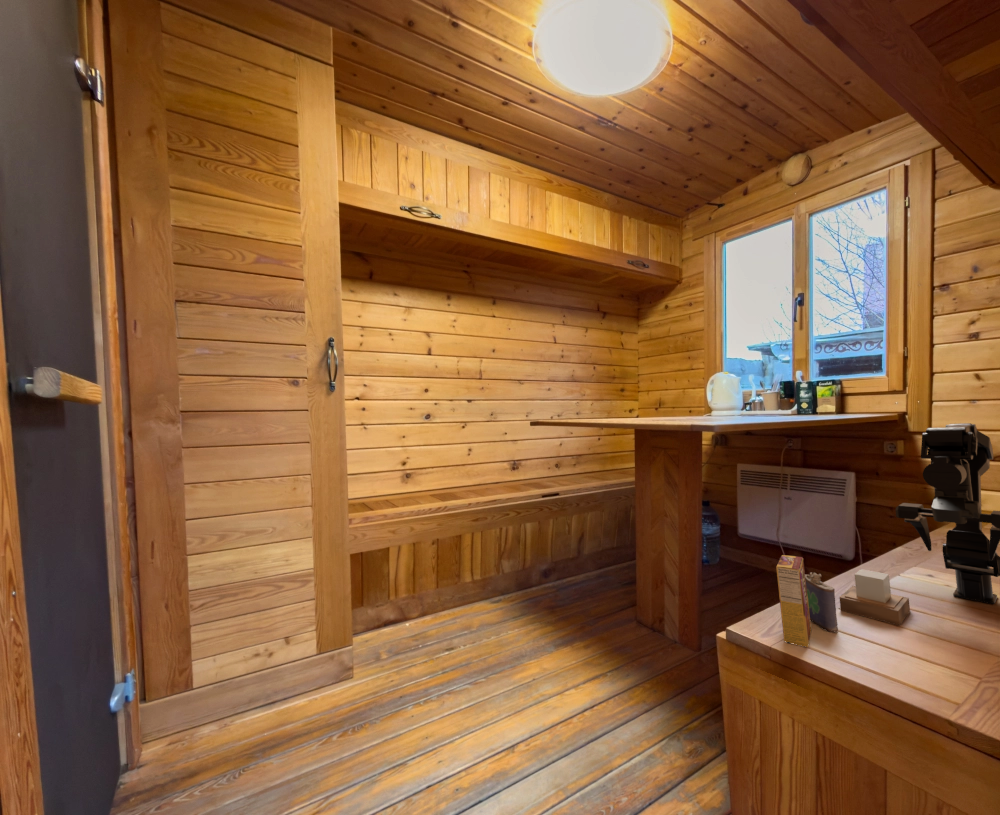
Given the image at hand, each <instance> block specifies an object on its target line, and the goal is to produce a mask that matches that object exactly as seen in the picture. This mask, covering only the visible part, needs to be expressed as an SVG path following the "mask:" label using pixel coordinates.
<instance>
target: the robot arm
mask: <svg viewBox="0 0 1000 815" xmlns="http://www.w3.org/2000/svg"><path fill="white" fill-rule="evenodd" d="M920 446H921V447H920V448H921V449H920V459H923V460H924V459H925V460H926V459H930V463H929V464H928V465H927V466H925V467H924V469H923V471H922V478H923V480H924V481H925V482H926V483H927V485H929V486H930V487H932V488H934V489H933V490H934V491H933V492H934V496H933V499H932V504H931V508H926V507H925V508H924V504H920V503H909V502H902V503H901V504H899V505H898V506H896V507H895V517H896V518H898V519H904V522H905V523H909V524H910V525H912V526H913V527H914V529H915V530H916V532H917V533H918V534H919V536H920V538H921V540H922V541H923V544H924V545H925V547H926V549H927V551H929V552H931V551H932V540H931V536H930V530H929V526H928V525H929V524H928V519H927V518H933V520H934V521H935V522H939V523H953V524H955V526H954V527H953V528H952V529H949V530H947V532H946V536H945V537H946V539H945V542H943V543H942V557H943V560H944V567H945V569H947V570H954V573H955V580H956V581H955V583H956V589H955V590H954V592H953V593H952V595H953V597H957V598H961V599H965V600H966V599H967V600H970V601H976V602H981V603H985V604H991V605H995V604H996V601H997V599H998V594H995V593H994V592H993V584H992V582H993V580H992V577H995V578H999V577H1000V555H999V554H998V553H997V549H998V546H999V545H1000V510H993V511H992V512H991V513H982V485H981V484H982V482H981V478H982V476H983V475H984V474H985V473H986V472H987V471H988V470H989V469H990V466H991V462H990V460H994V450H993V449H994V448H993V444H992V442H991V438H990V437H989V435H986V434H984V433H983V432H981V431H980V430H978V428H977V426H976V424H975V423H969V422H968V423H966V422H965V423H950V424H945V427H927V428H926V429H925V432H922V434H921V445H920ZM983 523H986V524H991V525H992V526H991V527H990V528H989V538H988V537H987V536H986V535H985V533H984V532H983Z"/></svg>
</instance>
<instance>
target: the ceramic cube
mask: <svg viewBox="0 0 1000 815" xmlns="http://www.w3.org/2000/svg"><path fill="white" fill-rule="evenodd" d="M890 579H891V578H890V574H889V573H884V572H881V571H880V572H879V571H874V570H868V569H863V568H860V569H859V570H858V571H857V572H855V573H854V584H855V585H854V586H856V596H858V597H862V598H866V599H871V600H875V601H879V602H884V603H886V602H887V601H888V600H889V598H890V597H891V594H892V592H891V582H890Z"/></svg>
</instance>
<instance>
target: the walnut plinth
mask: <svg viewBox="0 0 1000 815" xmlns="http://www.w3.org/2000/svg"><path fill="white" fill-rule="evenodd" d="M839 607H840V611H842V612H846V613H849V614H853V615H857V616H861V617H863V618H869V619H872V620H876V621H880V622H884V623H888V624H892V625H896V626H901V625H902V623H903V621H905V619H906V618H907V616H908V615H909V613H911V606H910V597H906V596H901V595H897V594H893V593H891V597H890V598H889V600H888V601H887V602H886V603H884V602H879V601H875V600H871V599H866V598H862V597H858V596H856V585H852V586H850V587H849V588H848V589H847V590H846V591H845V592H844V593H842V594H841V595H840V596H839Z"/></svg>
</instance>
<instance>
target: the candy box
mask: <svg viewBox="0 0 1000 815" xmlns="http://www.w3.org/2000/svg"><path fill="white" fill-rule="evenodd" d="M775 568H776V569H775V570H776V577H777V585H778V596H779V605H780V615H781V624H782V633H783V634H782V635H783V642H784V641H786V642H790V643H794V644H797V645H796V646H798V645H802V646H806V647H809V645H810V639H811V634H812V623H811V622H812V621H810V614H809V605H808V596H807V588H806V579H805V573H806V571H805V563H804V558H803V556H797V555H796V556H795V555H784V554H782V555H781V556H780V557H779V560H778V563H777V565H776V567H775ZM808 644H809V645H808ZM802 646H801V647H802ZM806 647H805V648H806Z"/></svg>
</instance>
